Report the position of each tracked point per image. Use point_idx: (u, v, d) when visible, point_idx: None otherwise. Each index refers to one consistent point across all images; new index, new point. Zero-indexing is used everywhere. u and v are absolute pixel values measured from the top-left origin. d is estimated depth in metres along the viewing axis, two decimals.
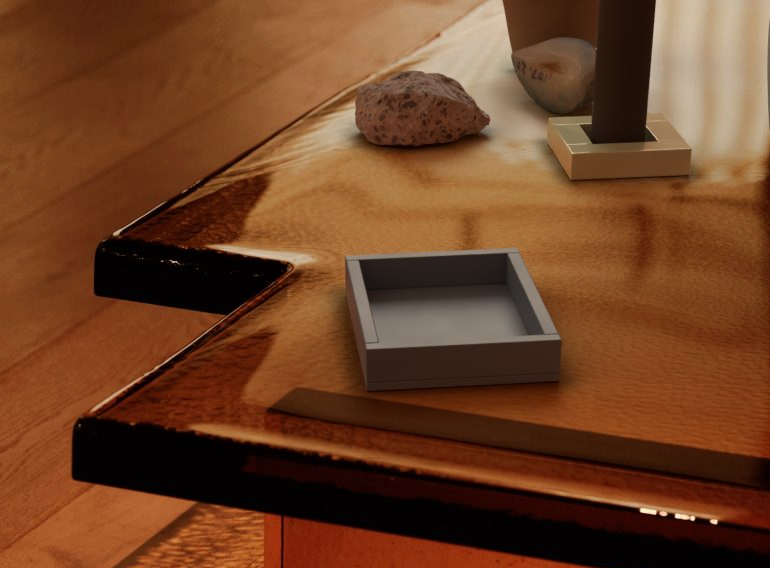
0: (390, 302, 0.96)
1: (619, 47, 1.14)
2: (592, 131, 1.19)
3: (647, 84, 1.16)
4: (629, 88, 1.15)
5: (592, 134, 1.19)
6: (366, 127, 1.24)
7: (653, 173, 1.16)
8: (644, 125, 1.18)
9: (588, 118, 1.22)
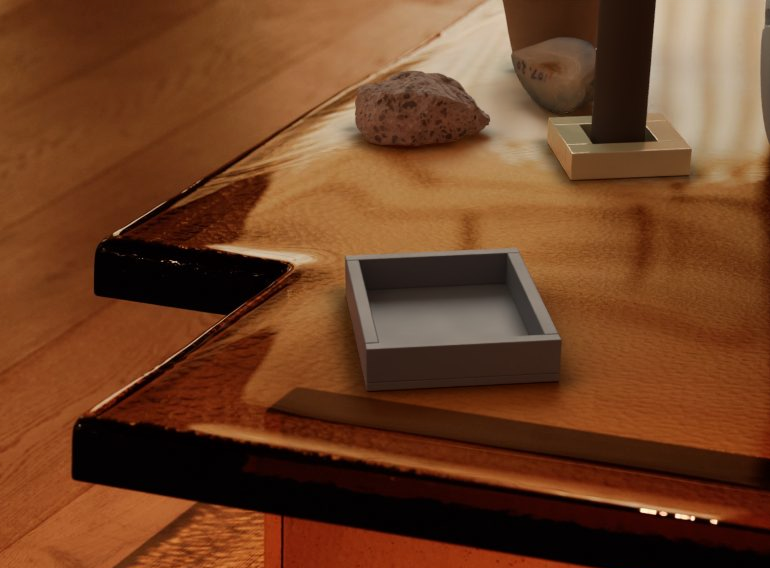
0: (390, 302, 0.96)
1: (619, 47, 1.14)
2: (592, 131, 1.19)
3: (647, 84, 1.16)
4: (629, 88, 1.15)
5: (592, 134, 1.19)
6: (366, 127, 1.24)
7: (653, 173, 1.16)
8: (644, 125, 1.18)
9: (588, 118, 1.22)
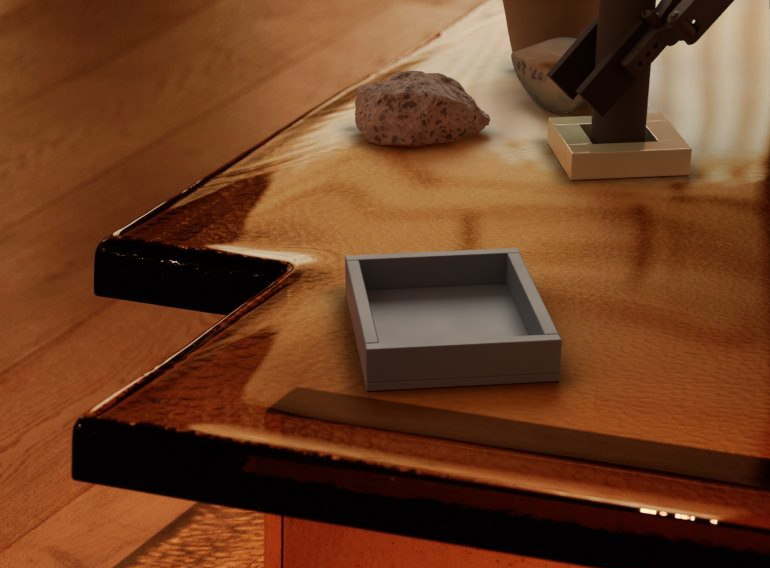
0: (390, 302, 0.96)
1: None
2: (592, 131, 1.19)
3: (647, 84, 1.16)
4: (629, 88, 1.15)
5: (592, 134, 1.19)
6: (366, 127, 1.24)
7: (653, 173, 1.16)
8: (644, 125, 1.18)
9: (588, 118, 1.22)
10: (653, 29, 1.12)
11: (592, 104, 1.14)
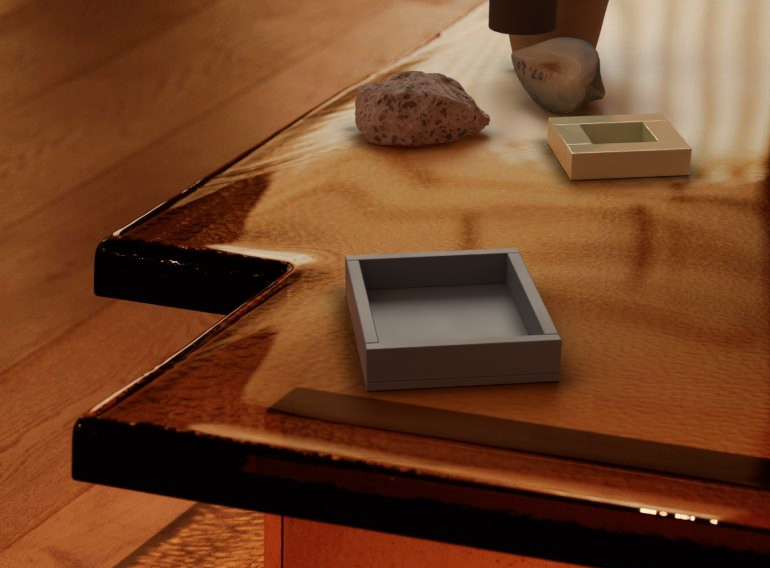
0: (390, 302, 0.96)
1: None
2: None
3: None
4: None
5: None
6: (365, 127, 1.24)
7: (653, 173, 1.16)
8: None
9: (588, 118, 1.22)
10: None
11: None
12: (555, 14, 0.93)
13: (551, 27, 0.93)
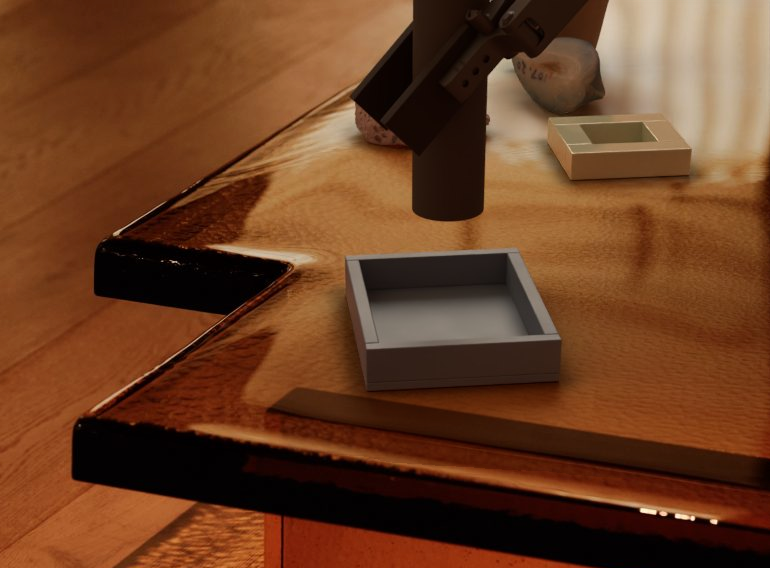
0: (390, 302, 0.96)
1: None
2: (413, 173, 0.88)
3: (482, 110, 0.85)
4: (456, 115, 0.85)
5: (413, 177, 0.88)
6: (365, 127, 1.24)
7: (653, 173, 1.16)
8: (481, 165, 0.87)
9: (588, 118, 1.22)
10: (483, 36, 0.81)
11: (403, 139, 0.83)
12: (482, 198, 0.88)
13: (478, 212, 0.88)
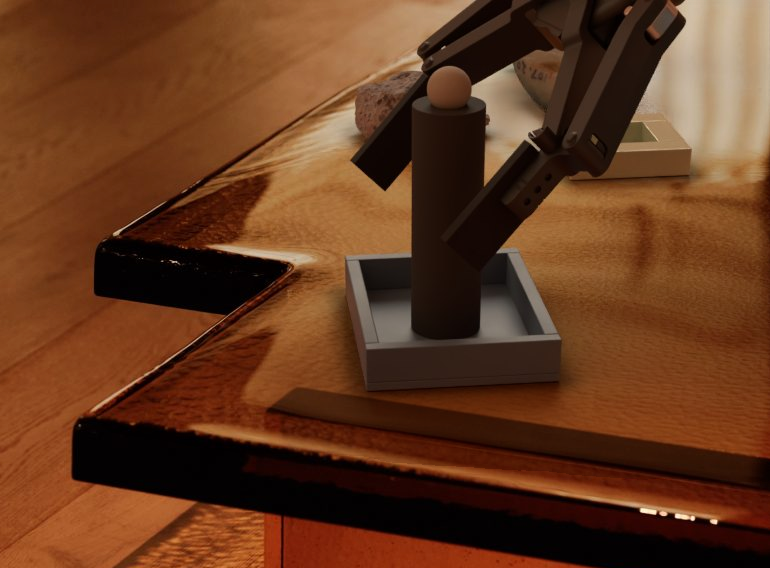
0: (390, 302, 0.96)
1: (438, 191, 0.87)
2: (412, 294, 0.91)
3: None
4: None
5: (412, 297, 0.92)
6: (365, 127, 1.24)
7: (653, 173, 1.16)
8: (477, 287, 0.91)
9: None
10: (549, 154, 0.80)
11: (463, 255, 0.83)
12: (478, 317, 0.92)
13: (474, 330, 0.92)
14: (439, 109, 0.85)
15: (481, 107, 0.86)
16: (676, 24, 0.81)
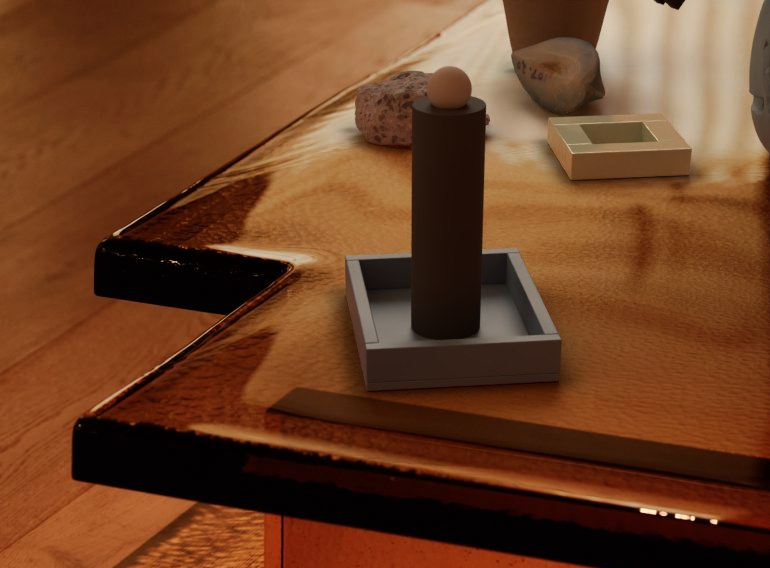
0: (390, 302, 0.96)
1: (438, 191, 0.87)
2: (412, 294, 0.91)
3: (478, 236, 0.89)
4: (453, 242, 0.88)
5: (412, 297, 0.92)
6: (365, 127, 1.24)
7: (653, 173, 1.16)
8: (477, 287, 0.91)
9: (588, 118, 1.22)
10: None
11: None
12: (478, 317, 0.92)
13: (474, 330, 0.92)
14: (439, 109, 0.85)
15: (481, 107, 0.86)
16: None
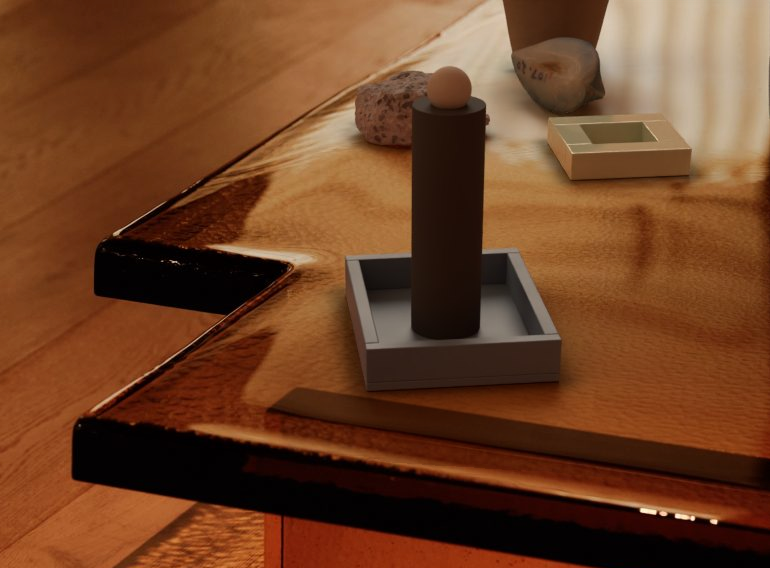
0: (390, 302, 0.96)
1: (438, 191, 0.87)
2: (412, 294, 0.91)
3: (478, 236, 0.89)
4: (453, 242, 0.88)
5: (412, 297, 0.92)
6: (365, 127, 1.24)
7: (653, 173, 1.16)
8: (477, 287, 0.91)
9: (588, 118, 1.22)
10: None
11: None
12: (478, 317, 0.92)
13: (474, 330, 0.92)
14: (439, 109, 0.85)
15: (481, 107, 0.86)
16: None
